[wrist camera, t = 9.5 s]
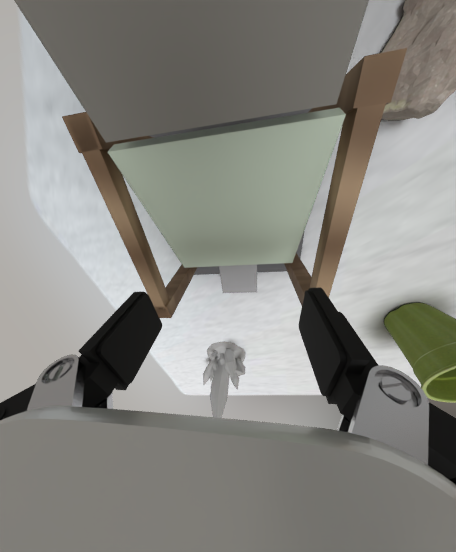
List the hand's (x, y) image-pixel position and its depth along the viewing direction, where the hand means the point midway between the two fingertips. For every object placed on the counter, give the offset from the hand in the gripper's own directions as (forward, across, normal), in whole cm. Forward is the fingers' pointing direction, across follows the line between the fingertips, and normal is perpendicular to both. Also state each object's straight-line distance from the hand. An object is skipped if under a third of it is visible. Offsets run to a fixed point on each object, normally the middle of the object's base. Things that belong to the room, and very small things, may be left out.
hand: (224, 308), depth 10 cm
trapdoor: (+8, 0, -6) cm, 10 cm away
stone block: (+14, 0, +3) cm, 14 cm away
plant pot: (+17, -30, +18) cm, 39 cm away
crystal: (+17, +5, +32) cm, 36 cm away
